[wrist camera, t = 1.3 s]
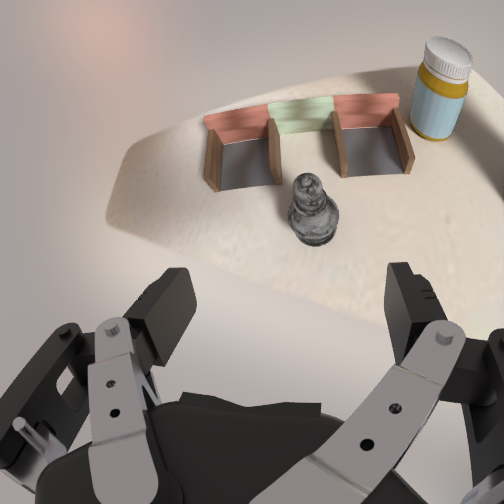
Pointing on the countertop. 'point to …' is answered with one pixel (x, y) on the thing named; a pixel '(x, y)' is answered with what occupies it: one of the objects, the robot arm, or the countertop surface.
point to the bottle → (440, 88)
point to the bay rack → (304, 120)
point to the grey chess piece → (312, 211)
